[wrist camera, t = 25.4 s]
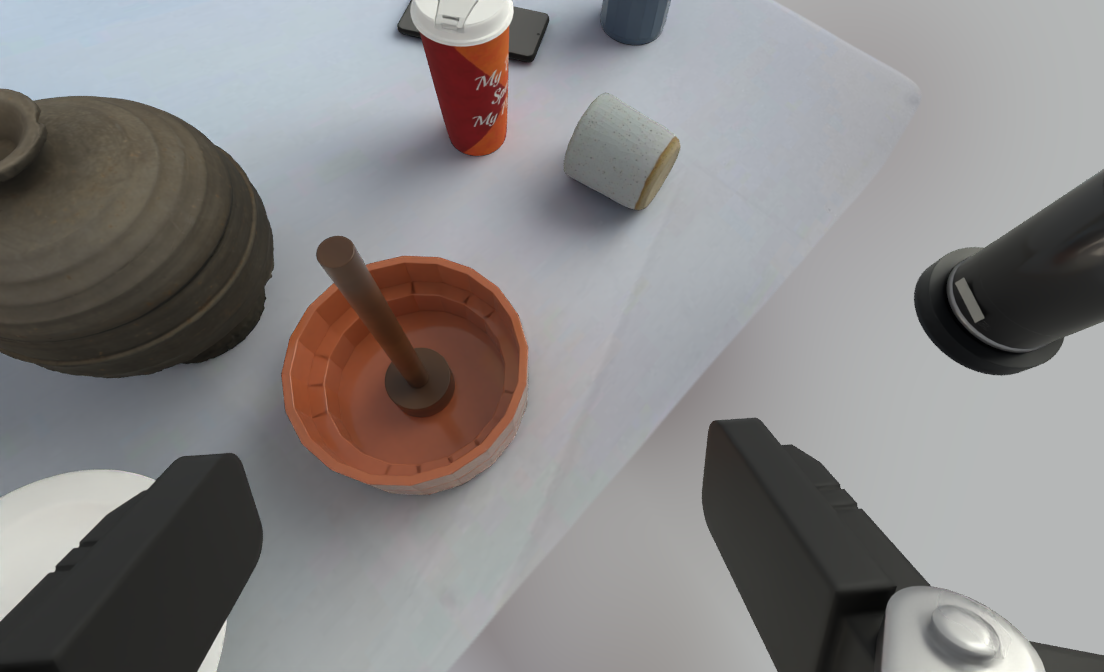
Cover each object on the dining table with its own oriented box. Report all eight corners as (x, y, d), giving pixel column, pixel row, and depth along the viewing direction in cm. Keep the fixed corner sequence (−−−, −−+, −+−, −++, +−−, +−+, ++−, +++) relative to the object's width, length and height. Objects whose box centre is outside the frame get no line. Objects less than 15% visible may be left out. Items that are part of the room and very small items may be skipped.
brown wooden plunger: (405, 351, 42) (306, 193, 23) (463, 366, 41) (409, 218, 23) (382, 408, 40) (256, 286, 21) (443, 424, 40) (367, 315, 21)
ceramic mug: (636, 231, 47) (655, 174, 40) (558, 190, 49) (564, 128, 42) (686, 155, 51) (712, 90, 44) (613, 119, 53) (627, 51, 46)
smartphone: (418, -15, 57) (550, 13, 56) (420, -7, 58) (550, 21, 57) (394, 27, 55) (532, 57, 54) (396, 35, 56) (532, 65, 54)
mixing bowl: (499, 276, 45) (494, 234, 39) (552, 459, 40) (556, 443, 34) (307, 322, 43) (270, 285, 37) (334, 523, 37) (296, 518, 31)
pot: (366, 297, 43) (204, 123, 24) (181, 455, 39) (-178, 394, 21) (245, 173, 48) (32, -52, 29) (70, 304, 44) (-305, 142, 25)
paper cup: (507, 171, 50) (499, 37, 37) (428, 157, 50) (392, 19, 37) (524, 109, 52) (523, -35, 39) (449, 96, 53) (424, -51, 40)
